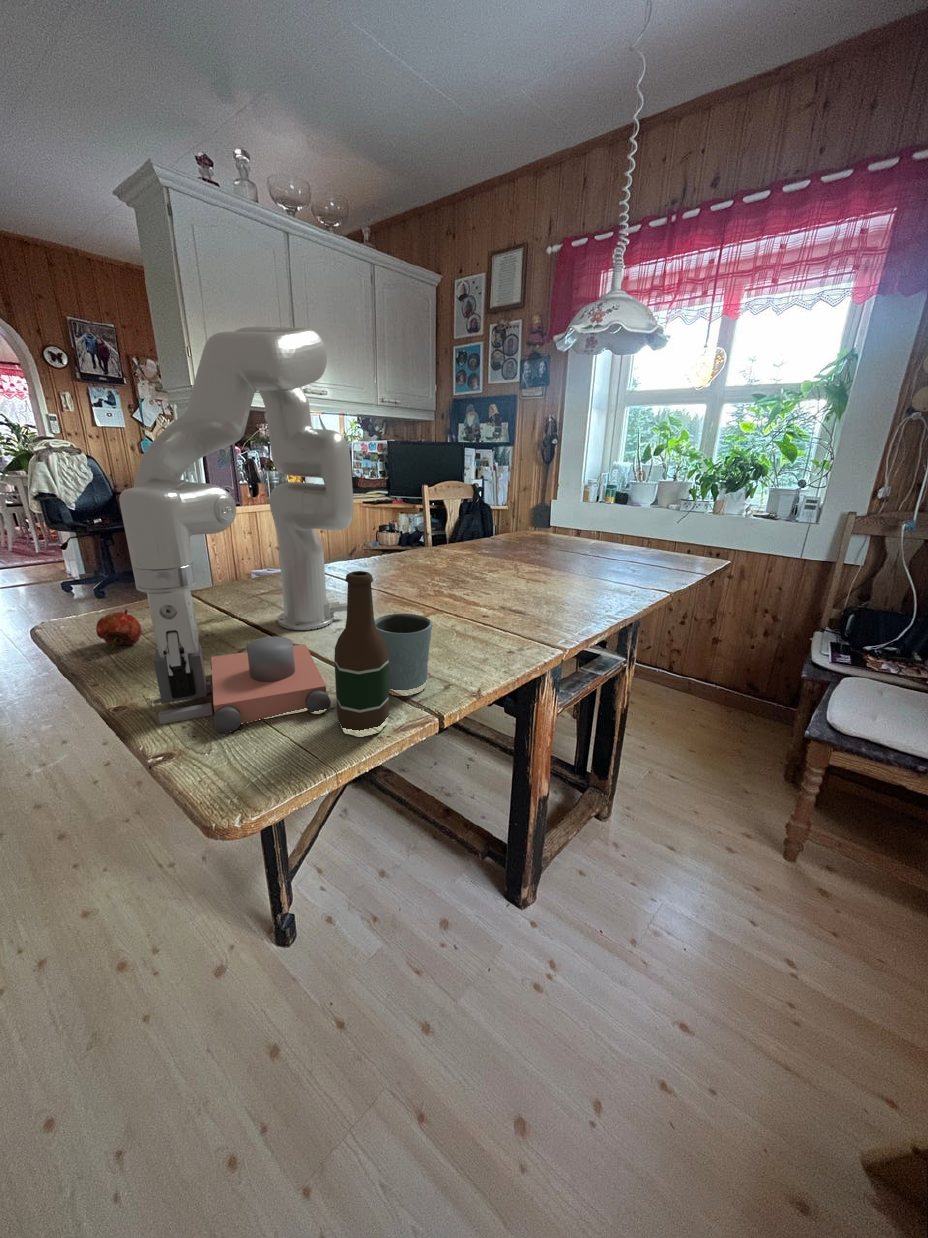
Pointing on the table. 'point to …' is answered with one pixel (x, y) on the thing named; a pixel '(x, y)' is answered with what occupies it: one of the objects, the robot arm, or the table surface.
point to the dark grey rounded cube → (195, 665)
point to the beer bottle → (361, 661)
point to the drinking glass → (406, 648)
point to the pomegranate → (119, 629)
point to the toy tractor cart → (258, 685)
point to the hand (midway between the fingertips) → (184, 686)
